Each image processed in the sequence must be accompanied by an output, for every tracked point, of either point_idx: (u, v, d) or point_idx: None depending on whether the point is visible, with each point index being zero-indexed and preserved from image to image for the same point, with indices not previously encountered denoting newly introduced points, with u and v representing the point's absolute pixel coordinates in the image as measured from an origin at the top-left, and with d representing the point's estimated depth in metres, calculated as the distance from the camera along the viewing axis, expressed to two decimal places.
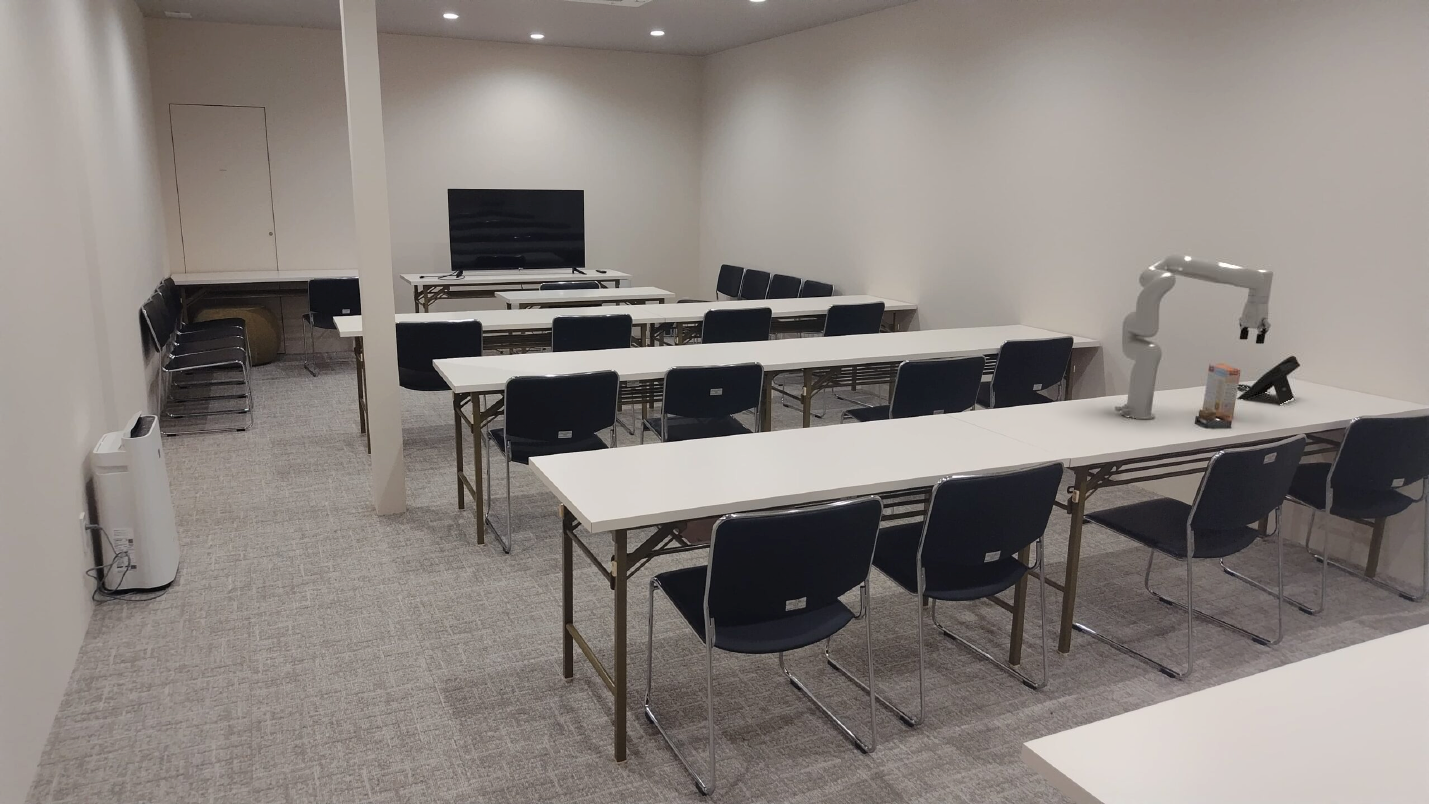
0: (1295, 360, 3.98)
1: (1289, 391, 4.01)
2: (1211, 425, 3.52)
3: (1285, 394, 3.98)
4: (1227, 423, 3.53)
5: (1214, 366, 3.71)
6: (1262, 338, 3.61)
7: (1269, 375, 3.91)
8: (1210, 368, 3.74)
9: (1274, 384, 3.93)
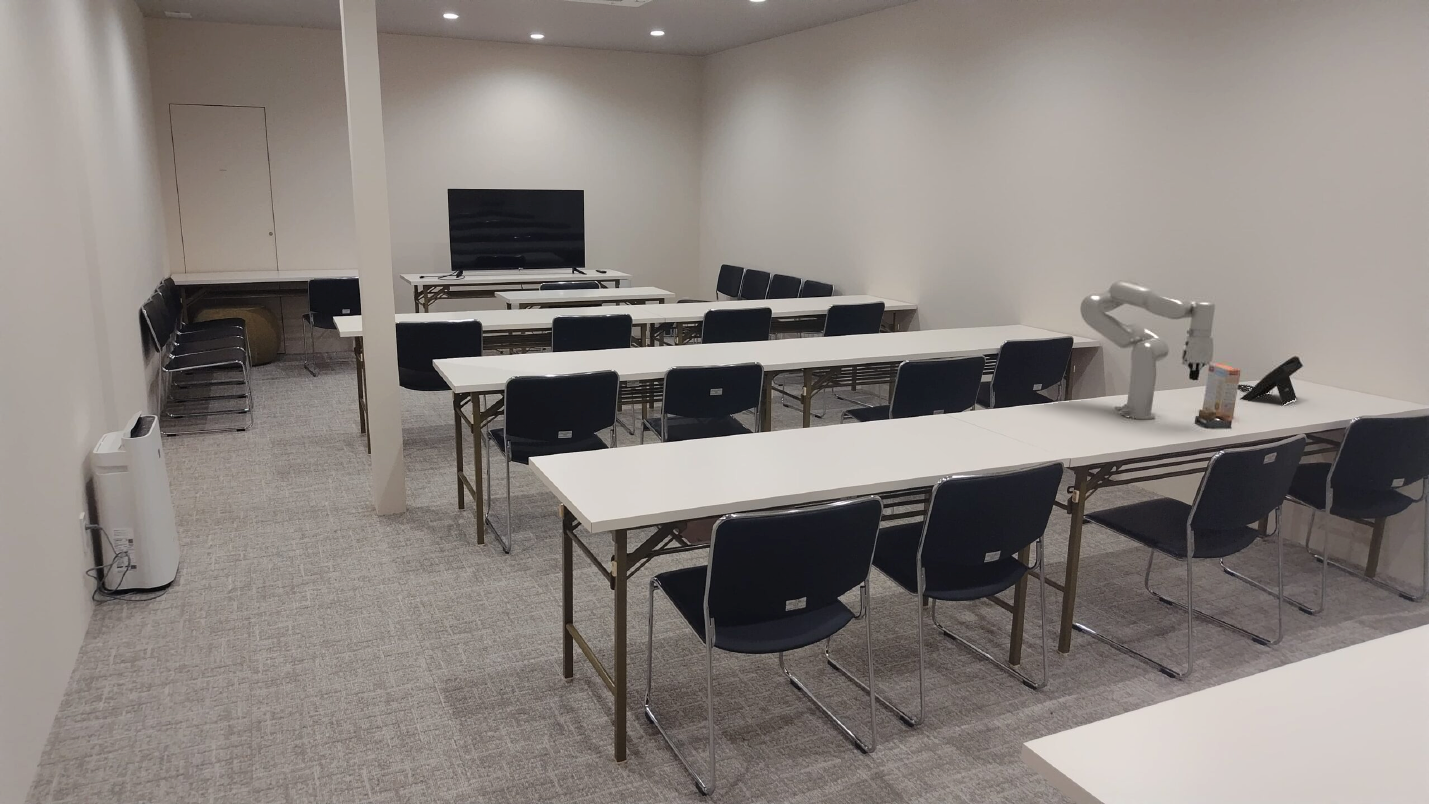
0: (1298, 360, 3.97)
1: (1292, 391, 4.00)
2: (1211, 425, 3.52)
3: (1288, 394, 3.97)
4: (1227, 423, 3.53)
5: (1214, 366, 3.71)
6: None
7: (1272, 375, 3.90)
8: (1210, 368, 3.74)
9: (1277, 384, 3.92)
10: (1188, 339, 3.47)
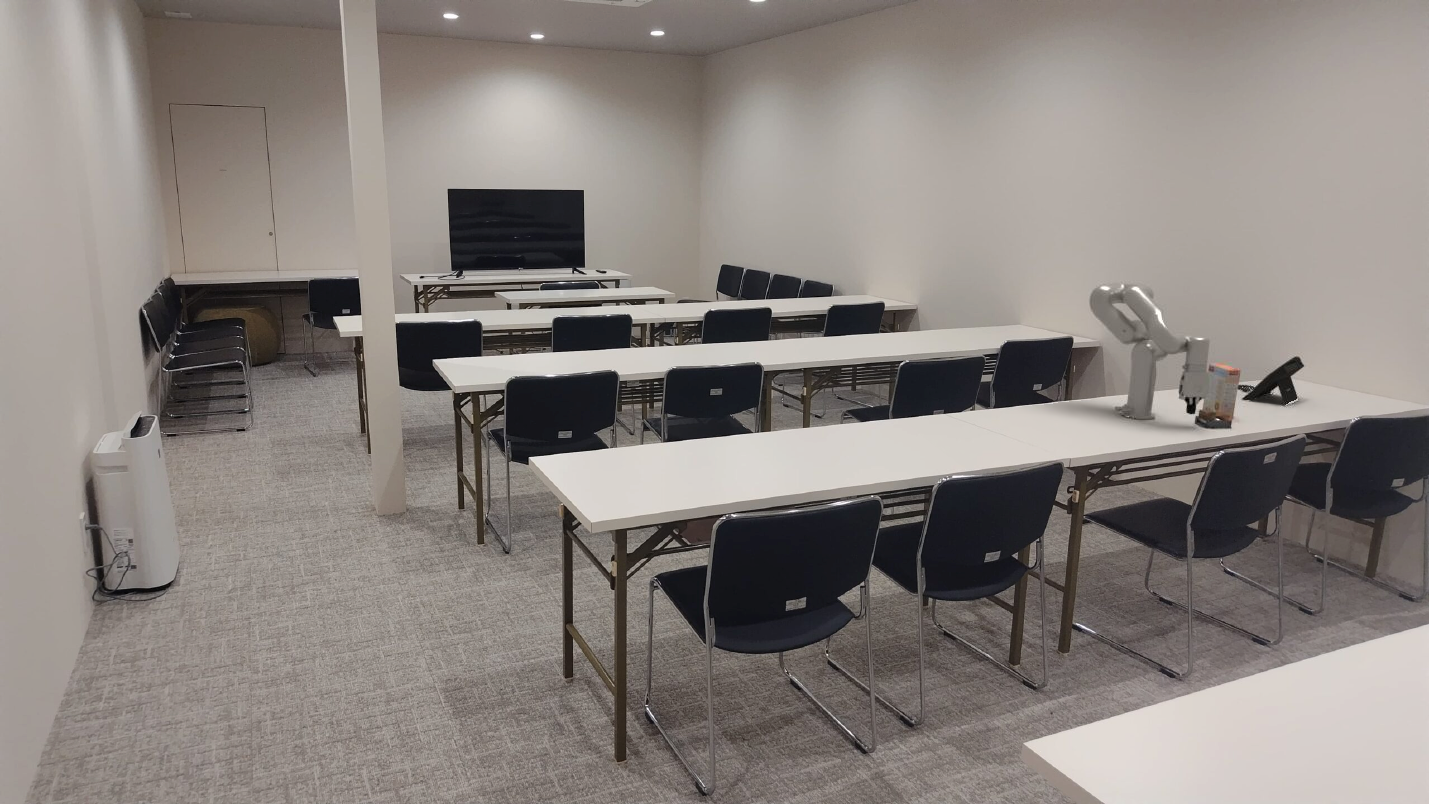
0: (1299, 361, 3.97)
1: (1293, 391, 4.00)
2: (1211, 425, 3.52)
3: (1290, 394, 3.97)
4: (1227, 423, 3.53)
5: (1214, 366, 3.71)
6: None
7: (1274, 376, 3.90)
8: (1210, 368, 3.74)
9: (1279, 385, 3.92)
10: (1184, 374, 3.50)
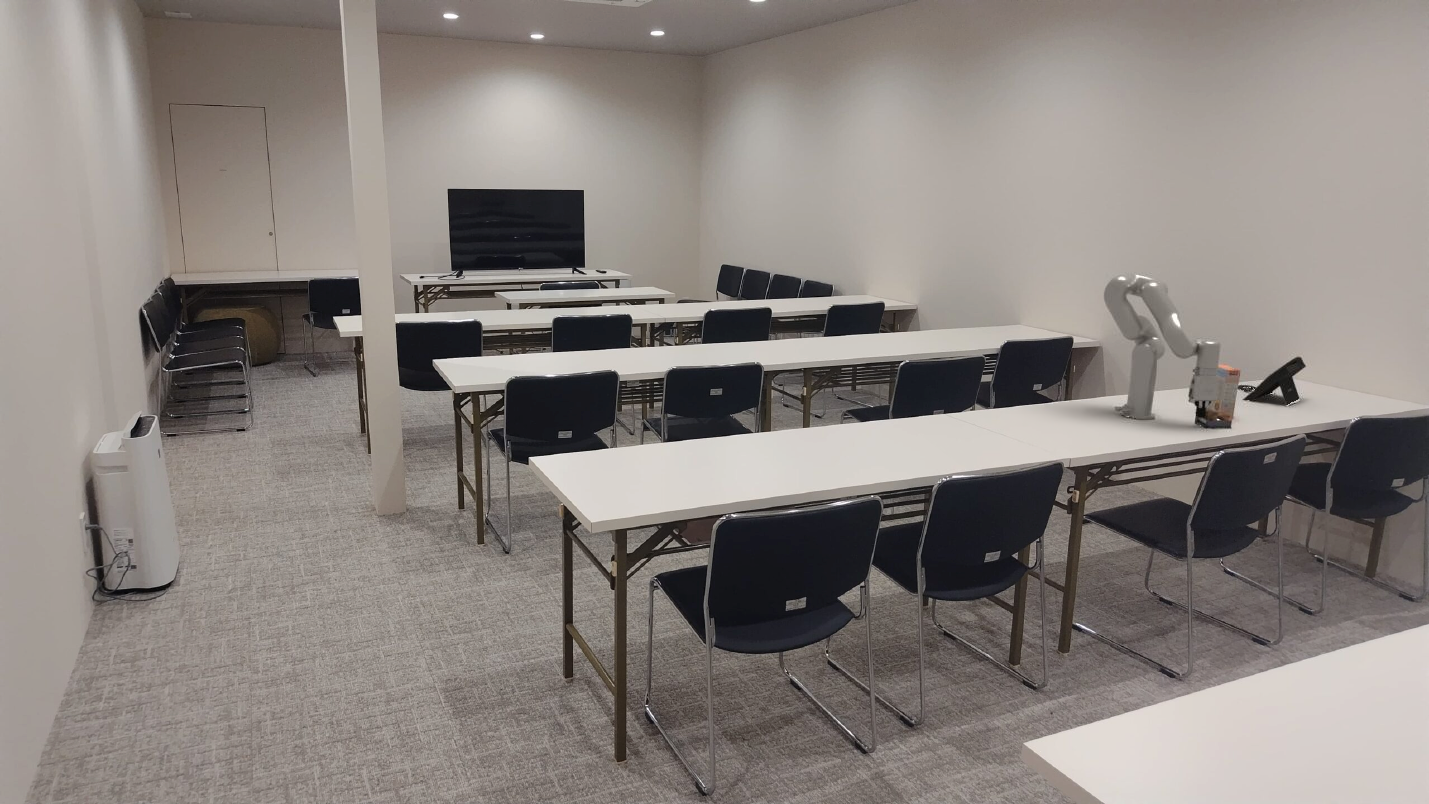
0: (1301, 361, 3.97)
1: (1295, 392, 4.00)
2: (1211, 425, 3.52)
3: (1291, 394, 3.97)
4: (1227, 423, 3.53)
5: None
6: None
7: (1275, 376, 3.90)
8: None
9: (1280, 385, 3.92)
10: (1194, 377, 3.51)
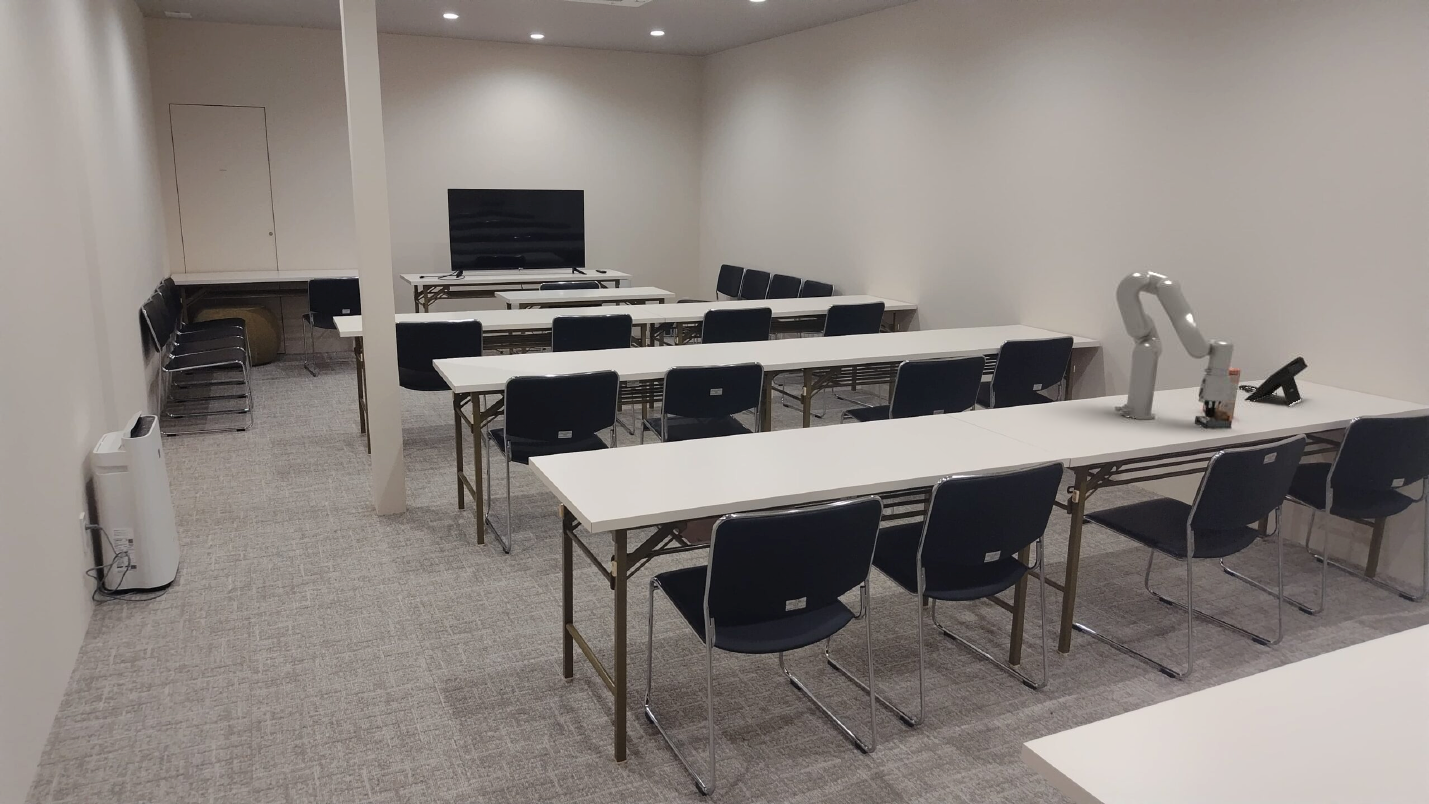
0: (1303, 361, 3.96)
1: (1296, 392, 3.99)
2: (1211, 425, 3.52)
3: (1293, 395, 3.96)
4: (1227, 423, 3.53)
5: None
6: None
7: (1277, 376, 3.89)
8: None
9: (1282, 385, 3.91)
10: (1205, 377, 3.51)
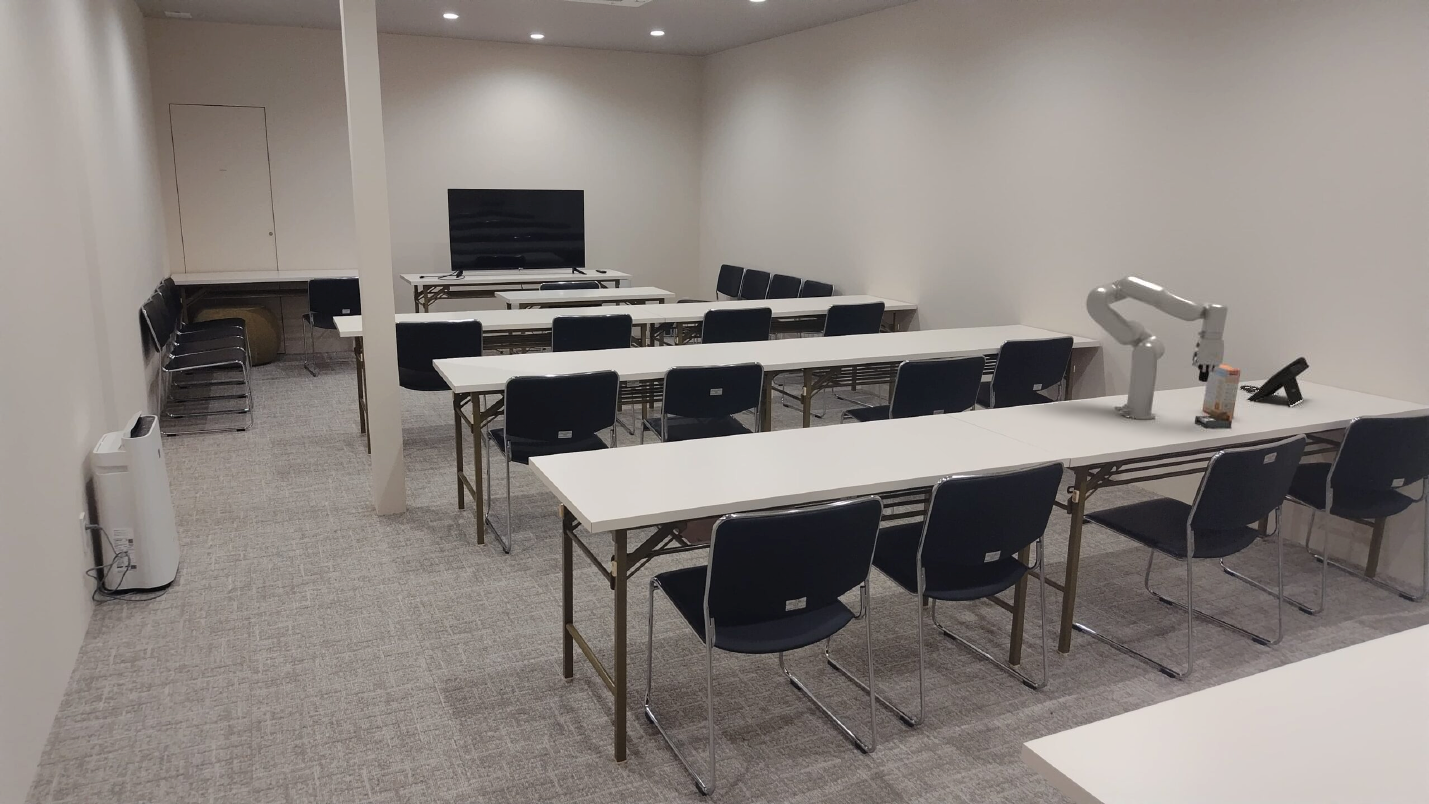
0: (1304, 361, 3.96)
1: (1298, 392, 3.99)
2: (1211, 425, 3.52)
3: (1295, 395, 3.96)
4: (1227, 423, 3.53)
5: None
6: None
7: (1279, 376, 3.89)
8: None
9: (1284, 385, 3.91)
10: (1199, 341, 3.47)
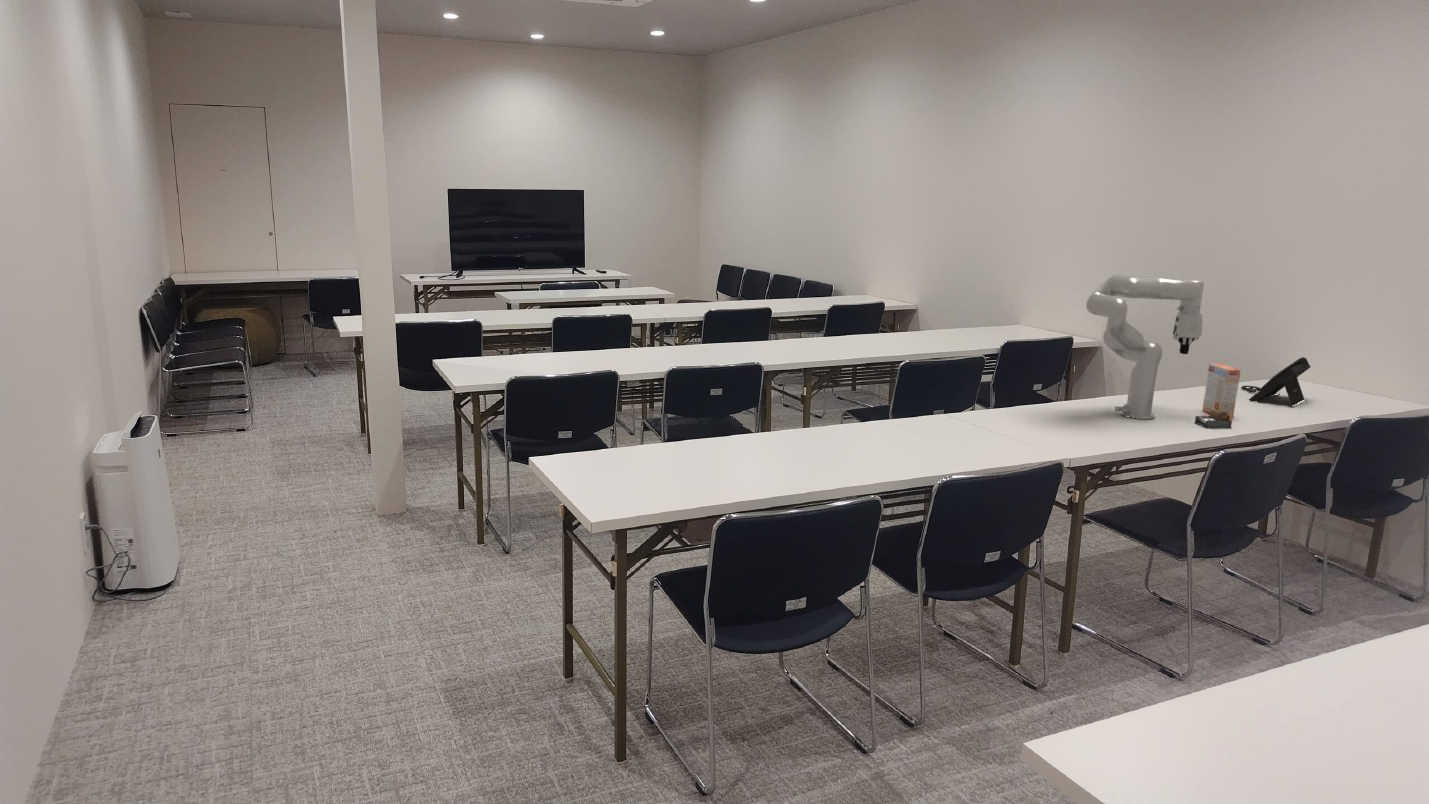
0: (1306, 361, 3.95)
1: (1299, 392, 3.98)
2: (1211, 425, 3.52)
3: (1296, 395, 3.95)
4: (1227, 423, 3.53)
5: (1214, 366, 3.71)
6: None
7: (1281, 377, 3.88)
8: (1210, 368, 3.74)
9: (1286, 386, 3.90)
10: (1178, 315, 3.67)
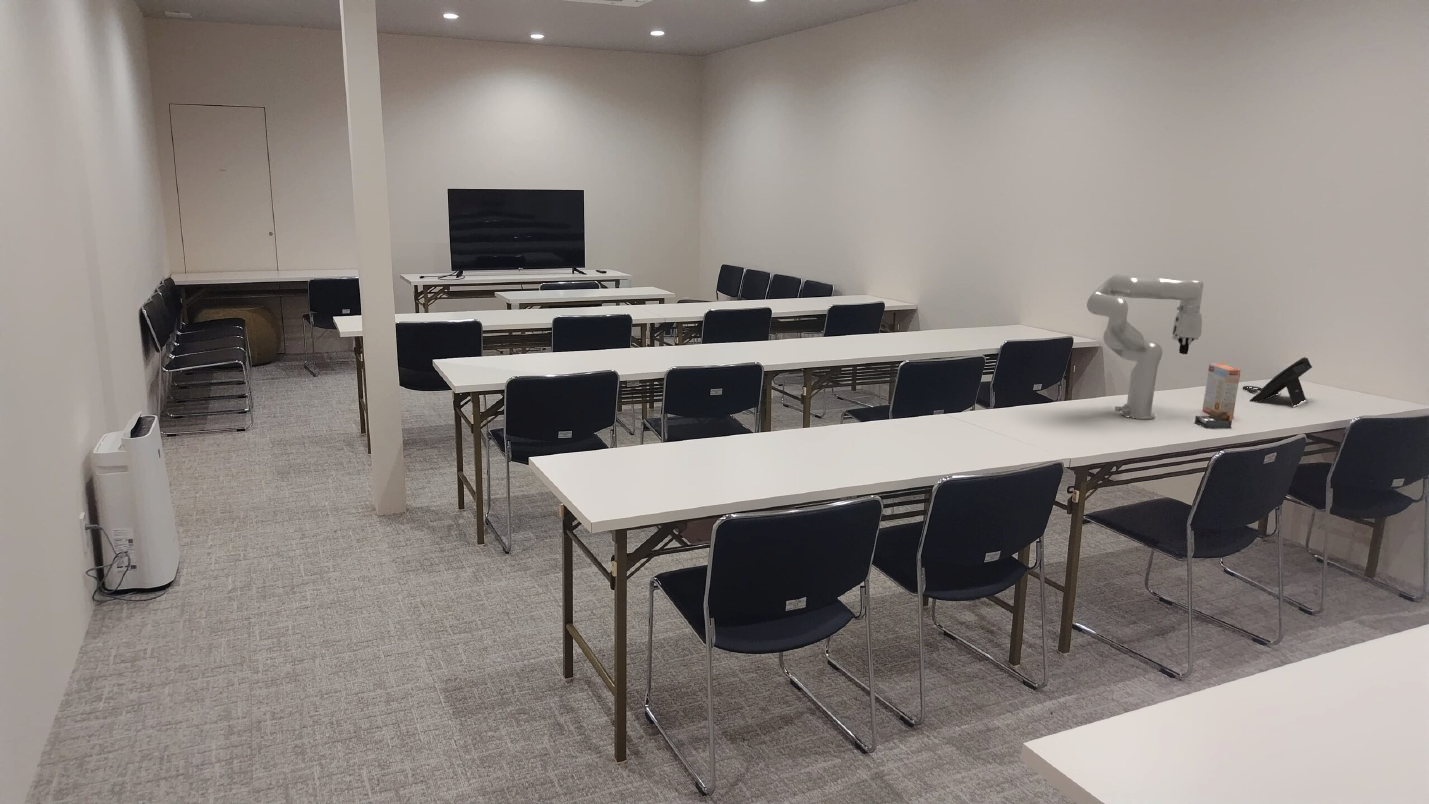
0: (1307, 362, 3.95)
1: (1301, 392, 3.98)
2: (1211, 425, 3.52)
3: (1298, 395, 3.95)
4: (1227, 423, 3.53)
5: (1214, 366, 3.71)
6: None
7: (1282, 377, 3.88)
8: (1210, 368, 3.74)
9: (1287, 386, 3.90)
10: (1178, 315, 3.67)
